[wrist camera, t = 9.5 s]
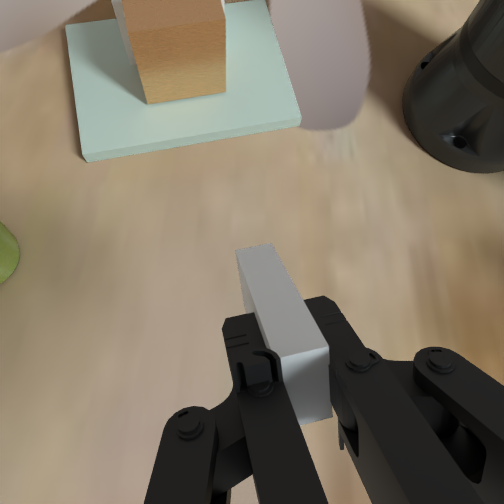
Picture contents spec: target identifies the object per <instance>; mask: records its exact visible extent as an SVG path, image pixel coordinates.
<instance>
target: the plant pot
mask: <svg viewBox="0 0 504 504" xmlns="http://www.w3.org/2000/svg"><path fill="white" fill-rule="evenodd" d="M19 256H20V252H19V248H18V243H17V240H16V238H15V237H14V235H13V234H12V233H11V232H10V231H9V230H8V229H7V228H6V227H5V225H4V224H3V223H2V222H1V221H0V284H1V283H2V282H4V281H5V280H6V279H7V278H8V277H9V276H10V275H11V274H12V273H13V271H14V270H15V268H16V266H17V264H18V261H19Z"/></svg>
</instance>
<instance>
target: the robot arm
mask: <svg viewBox="0 0 504 504" xmlns="http://www.w3.org/2000/svg"><path fill="white" fill-rule="evenodd" d="M403 112H404V116H405V120H406V122H407V125H408V127H409V129H410V131H411V133H412V134H413V136H414V137H415V139H416V140H417V141H418V142H419V144H420V145H421V146H422V147H423V148H424V149H425V150H426V151H427V152H429V153H430V154H431V155H432V156H434V157H435V158H437V159H438V160H440V161H442V162H443V163H445V164H447V165H449V166H452V167H454V168H457V169H460V170H464V171H468V172H474V173H494V172H500V171H504V0H480V1H479V2H478V4H477V5H476V7H475V8H474V10H473V11H472V13H471V15H470V16H469V18H468V19H467V21H466V22H465V23H464V25H463V26H462V27H461V28H460V29H458V30H457V31H456V32H455V33H453V34H452V35H451V36H450V37H448V38H447V39H446V40H445V41H443V42H442V43H441V44H440V45H439V46H437V47H436V48H435V49H433V50H432V51H431V52H430V53H429V54H427V55H426V56H425V57H424V58H423V59H422V60H421V62H420V63H419V64H418V65H417V67H416V68H415V70H414V72H413V73H412V75H411V77H410V79H409V80H408V82H407V84H406V87H405V89H404V94H403ZM235 252H236V258H237V264H238V271H239V277H240V283H241V289H242V295H243V301H244V306H245V310H246V313H247V314H243V315H239V316H234V317H230V318H226V319H225V322H224V325H223V327H222V332H223V337H224V342H225V347H226V352H227V357H228V362H229V366H230V371H231V376H232V380H233V388H232V391H231V393H230V395H229V396H228V398H227V399H226V400H225V401H224V402H222V403H221V404H219V405H218V406H216V407H215V408H213V409H211V410H208V409H206V408H204V407H198V406H192V407H187V408H183V409H182V410H180V411H178V412H176V413H175V414H174V415H173V416H172V417H171V418H170V419H169V420H168V421H167V423H166V425H165V427H164V430H163V434H162V437H161V441H160V445H159V449H158V452H157V456H156V460H155V464H154V467H153V471H152V475H151V478H150V482H149V486H148V490H147V493H146V497H145V501H144V504H230V499H231V488H232V487H234V486H235V485H237V484H238V483H240V482H241V481H243V480H244V479H246V478H248V477H249V476H251V475H252V474H253V479H254V483H255V488H256V492H257V497H258V502H259V504H328V501H327V498H326V496H325V493H324V490H323V488H322V485H321V482H320V479H319V477H318V474H317V471H316V469H315V466H314V463H313V460H312V458H311V455H310V452H309V450H308V447H307V444H306V441H305V439H304V436H303V433H302V431H301V428H300V425H304V424H308V423H312V422H315V421H319V420H323V419H327V418H331V417H333V415H332V406H333V408H334V410H335V412H336V414H337V416H338V433H339V446H340V450H343V449H344V443H345V445H346V448H347V450H348V452H349V454H350V456H351V458H352V461H353V463H354V465H355V467H356V469H357V472H358V474H359V476H360V478H361V480H362V482H363V485H364V487H365V489H366V491H367V493H368V496H369V498H370V500H371V502H372V504H504V386H503V385H502V384H500V383H499V382H497V381H496V380H495V379H493V378H492V377H490V376H489V375H487V374H486V373H485V372H483V371H482V370H480V369H479V368H478V367H476V366H475V365H473V364H472V363H470V362H469V361H468V360H466V359H465V358H463V357H462V356H461V355H459V354H457V353H456V352H454V351H452V350H450V349H446V348H442V347H427V348H424V349H421V350H420V351H419V352H417V353H416V355H415V357H414V361H392V360H386V359H383V358H382V357H381V356H380V355H379V354H378V353H377V352H375V351H373V350H371V349H369V348H365V346H364V345H363V343H362V342H361V340H360V339H359V337H358V336H357V334H356V333H355V331H354V330H353V328H352V327H351V325H350V324H349V323H348V321H346V318H345V317H344V315H343V314H342V313H341V311H340V309H339V308H338V306H337V305H336V303H335V302H334V301H332V300H330V299H329V298H327V297H325V296H320V297H315V298H311V299H306V300H303V299H302V297H301V295H300V293H299V292H298V290H297V288H296V286H295V284H294V283H293V281H292V279H291V277H290V275H289V274H288V272H287V270H286V268H285V267H284V265H283V263H282V261H281V259H280V258H279V256H278V254H277V252H276V250H275V249H274V247H273V245H272V243H269V244H264V245H259V246H254V247H249V248H244V249H239V250H235Z"/></svg>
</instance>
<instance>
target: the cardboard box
mask: <svg viewBox="0 0 504 504" xmlns="http://www.w3.org/2000/svg"><path fill="white" fill-rule="evenodd" d="M122 5H123V11H124V16H125V22H126V27H127V32H128V36H129V39H130V43H131V46H132V50H133V54H134V57H135V61H136V64H137V68H138V71H139V75H140V78H141V82H142V85H143V89H144V93H145V96H146V100H147V103H148V104H154V103H161V102H167V101H173V100H179V99H186V98H192V97H198V96H205V95H211V94H217V93H223V92H226V18H225V14H224V10H223V7H222V3H221V0H122Z"/></svg>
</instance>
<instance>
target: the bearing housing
mask: <svg viewBox="0 0 504 504" xmlns="http://www.w3.org/2000/svg"><path fill="white" fill-rule="evenodd" d="M111 1H112V5H113V9H114V12H115V15H116V18H115V19H107V20H100V21H92V22H85V23H77V24H70V25H65V28H66V36H67V43H68V51H69V58H70V66H71V73H72V81H73V88H74V96H75V103H76V111H77V118H78V126H79V133H80V141H81V149H82V155H83V157H84V158H85V160H86V161H87V163H88V162H94V161H99V160H105V159H111V158H117V157H122V156H128V155H134V154H140V153H146V152H151V151H157V150H163V149H169V148H175V147H180V146H186V145H192V144H198V143H203V142H209V141H215V140H221V139H227V138H232V137H238V136H244V135H250V134H255V133H261V132H267V131H273V130H279V129H284V128H290V127H296V126H299V125H300V122H301V118H302V117H301V113H300V110H299V107H298V104H297V101H296V97H295V94H294V91H293V88H292V85H291V81H290V78H289V76H288V72H287V69H286V66H285V62H284V59H283V56H282V53H281V50H280V47H279V43H278V40H277V37H276V34H275V31H274V27H273V24H272V21H271V18H270V15H269V11H268V8H267V5H266V2H265V0H251V1H243V2H236V3H228V4H224V0H221V3H222V7H223V10H224V14H225V18H226V92H223V93H217V94H211V95H205V96H198V97H192V98H186V99H179V100H173V101H167V102H161V103H154V104H148V103H147V100H146V96H145V93H144V89H143V85H142V82H141V78H140V75H139V71H138V68H137V64H136V61H135V57H134V54H133V50H132V46H131V43H130V39H129V36H128V32H127V27H126V22H125V16H124V11H123V5H122V0H111Z"/></svg>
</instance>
